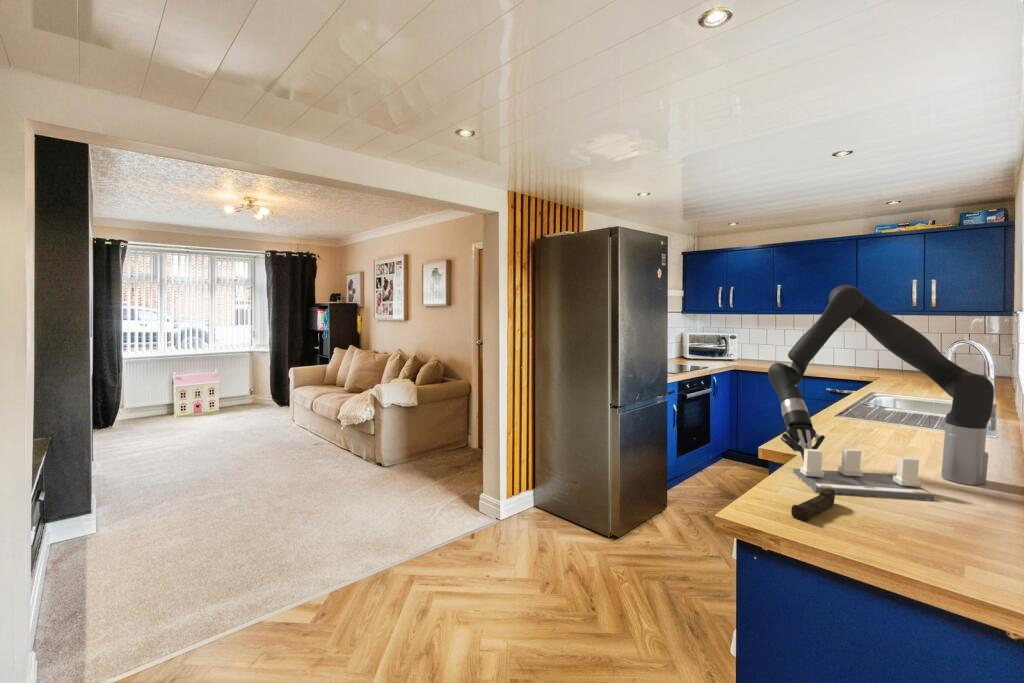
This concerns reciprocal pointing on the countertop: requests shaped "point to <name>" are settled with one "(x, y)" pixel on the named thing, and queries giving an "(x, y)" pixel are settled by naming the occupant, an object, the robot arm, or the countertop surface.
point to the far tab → (812, 463)
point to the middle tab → (850, 462)
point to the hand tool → (814, 505)
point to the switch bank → (864, 485)
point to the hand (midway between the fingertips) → (809, 462)
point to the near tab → (907, 472)
